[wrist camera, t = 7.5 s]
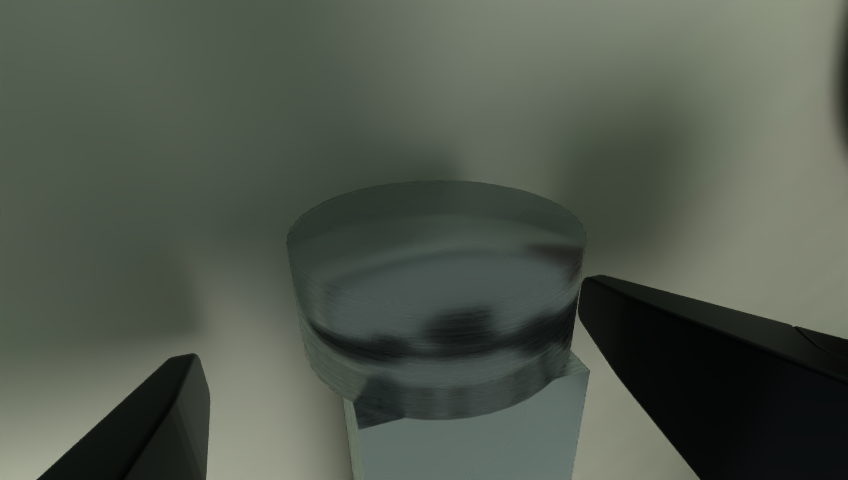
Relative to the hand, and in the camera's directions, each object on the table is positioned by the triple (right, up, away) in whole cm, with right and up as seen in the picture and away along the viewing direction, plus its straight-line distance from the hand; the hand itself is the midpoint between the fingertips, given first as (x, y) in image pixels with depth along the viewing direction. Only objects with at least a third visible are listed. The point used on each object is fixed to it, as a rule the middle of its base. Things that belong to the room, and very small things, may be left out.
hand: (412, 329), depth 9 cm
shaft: (0, -12, +6) cm, 14 cm away
